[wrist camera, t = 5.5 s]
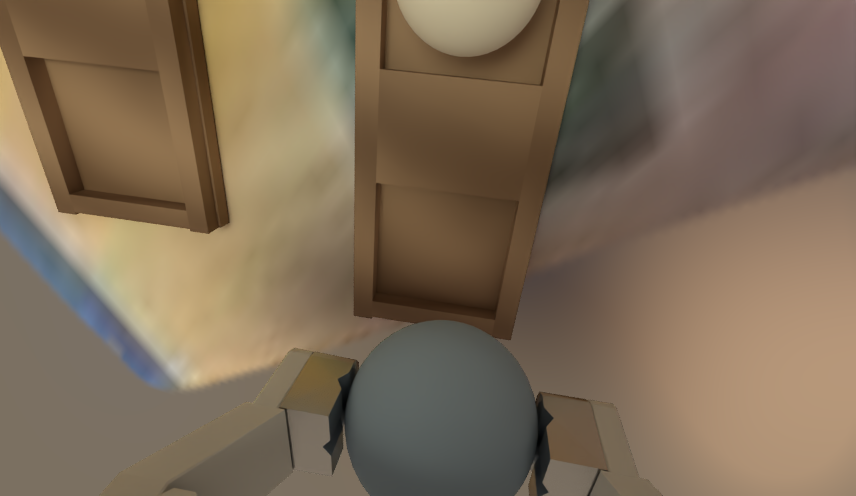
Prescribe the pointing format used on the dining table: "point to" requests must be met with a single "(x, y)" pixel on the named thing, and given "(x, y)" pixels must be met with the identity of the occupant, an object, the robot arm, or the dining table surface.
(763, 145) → the dining table surface
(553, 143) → the rack
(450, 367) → the ball blue
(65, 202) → the tray
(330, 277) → the dining table surface
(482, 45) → the ivory ball
